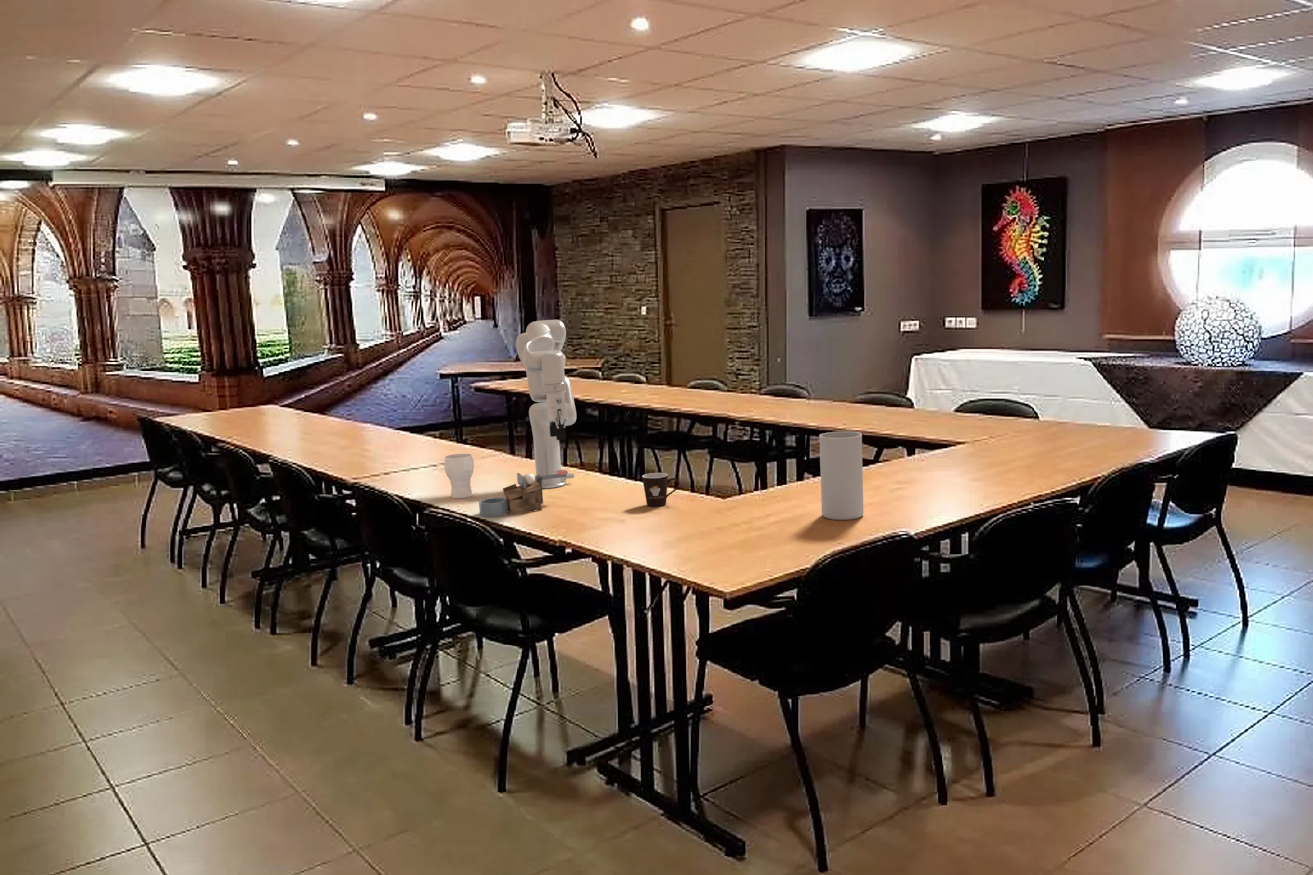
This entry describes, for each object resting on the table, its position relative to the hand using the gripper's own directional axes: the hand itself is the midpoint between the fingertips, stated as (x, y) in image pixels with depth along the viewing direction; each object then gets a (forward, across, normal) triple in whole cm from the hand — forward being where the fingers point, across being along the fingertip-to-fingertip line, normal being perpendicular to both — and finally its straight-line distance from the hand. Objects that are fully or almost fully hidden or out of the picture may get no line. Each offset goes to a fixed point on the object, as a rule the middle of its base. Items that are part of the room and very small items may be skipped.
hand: (558, 437), depth 339 cm
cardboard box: (+22, -3, +14) cm, 27 cm away
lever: (+14, -4, +6) cm, 16 cm away
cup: (+22, +30, +31) cm, 49 cm away
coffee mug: (+23, -24, -28) cm, 43 cm away
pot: (+22, -6, +25) cm, 34 cm away
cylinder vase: (+23, -69, -71) cm, 102 cm away
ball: (+12, -6, +12) cm, 18 cm away
